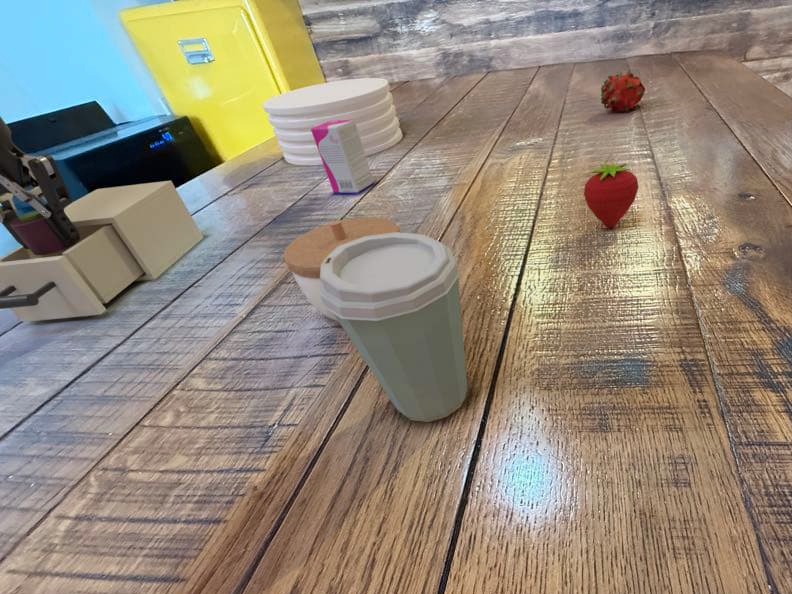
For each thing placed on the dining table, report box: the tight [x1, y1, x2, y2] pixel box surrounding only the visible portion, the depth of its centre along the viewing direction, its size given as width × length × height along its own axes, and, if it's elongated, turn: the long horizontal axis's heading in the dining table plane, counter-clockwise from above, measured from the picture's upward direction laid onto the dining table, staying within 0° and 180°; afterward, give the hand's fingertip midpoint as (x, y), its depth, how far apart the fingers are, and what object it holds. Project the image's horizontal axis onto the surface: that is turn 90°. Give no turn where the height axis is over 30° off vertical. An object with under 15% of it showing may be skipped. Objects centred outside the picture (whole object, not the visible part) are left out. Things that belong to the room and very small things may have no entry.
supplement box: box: [311, 120, 375, 196], centre depth 93 cm, size 6×6×12 cm
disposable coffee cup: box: [320, 232, 469, 423], centre depth 43 cm, size 11×11×15 cm
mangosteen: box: [10, 210, 76, 255], centre depth 66 cm, size 5×5×4 cm
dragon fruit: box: [600, 71, 646, 114], centre depth 117 cm, size 8×8×12 cm
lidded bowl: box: [283, 216, 401, 322], centre depth 58 cm, size 13×13×11 cm
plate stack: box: [262, 77, 403, 166], centre depth 119 cm, size 28×28×12 cm
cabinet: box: [64, 180, 204, 282], centre depth 78 cm, size 15×13×10 cm
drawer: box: [0, 223, 144, 323], centre depth 68 cm, size 18×11×8 cm, turn 0°
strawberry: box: [583, 154, 639, 229], centre depth 69 cm, size 6×8×10 cm
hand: (53, 243), depth 67 cm, fingers closed on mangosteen, 5 cm apart
